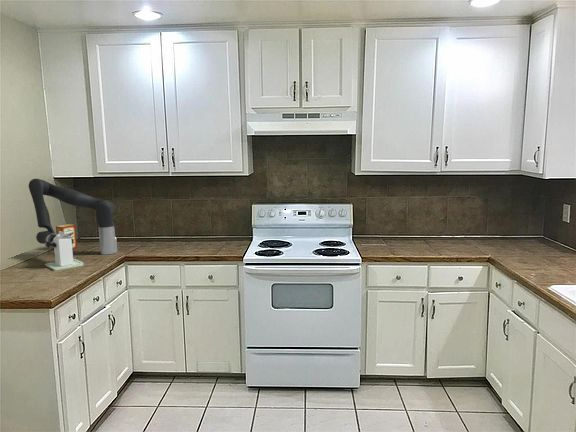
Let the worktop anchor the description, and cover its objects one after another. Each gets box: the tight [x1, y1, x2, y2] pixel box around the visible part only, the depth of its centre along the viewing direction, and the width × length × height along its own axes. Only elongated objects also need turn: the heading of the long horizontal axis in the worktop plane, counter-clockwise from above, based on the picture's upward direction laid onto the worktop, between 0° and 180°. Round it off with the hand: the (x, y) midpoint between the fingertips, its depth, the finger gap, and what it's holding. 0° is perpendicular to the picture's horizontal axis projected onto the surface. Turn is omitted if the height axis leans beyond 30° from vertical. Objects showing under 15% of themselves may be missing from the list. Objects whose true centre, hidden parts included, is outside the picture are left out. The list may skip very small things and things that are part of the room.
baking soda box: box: [55, 223, 78, 250], centre depth 298 cm, size 10×6×16 cm
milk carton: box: [53, 231, 74, 266], centre depth 253 cm, size 7×7×19 cm
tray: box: [45, 258, 85, 272], centre depth 254 cm, size 16×16×1 cm
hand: (63, 244), depth 252 cm, fingers open, 8 cm apart
